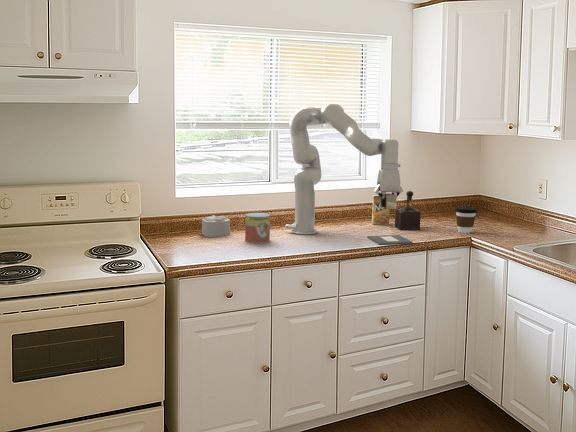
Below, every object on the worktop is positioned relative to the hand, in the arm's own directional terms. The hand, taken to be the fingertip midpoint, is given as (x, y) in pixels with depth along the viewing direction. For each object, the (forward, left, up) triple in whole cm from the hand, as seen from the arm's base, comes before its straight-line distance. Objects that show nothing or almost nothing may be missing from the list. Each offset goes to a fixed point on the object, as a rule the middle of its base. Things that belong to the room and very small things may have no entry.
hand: (388, 206), depth 299 cm
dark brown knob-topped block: (+22, +29, -16) cm, 40 cm away
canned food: (-59, +9, -16) cm, 62 cm away
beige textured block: (0, 0, 0) cm, 0 cm away
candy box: (+12, +39, -16) cm, 44 cm away
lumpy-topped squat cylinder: (-76, +26, -16) cm, 82 cm away
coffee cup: (+46, +12, -16) cm, 50 cm away
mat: (+1, -1, -16) cm, 16 cm away
